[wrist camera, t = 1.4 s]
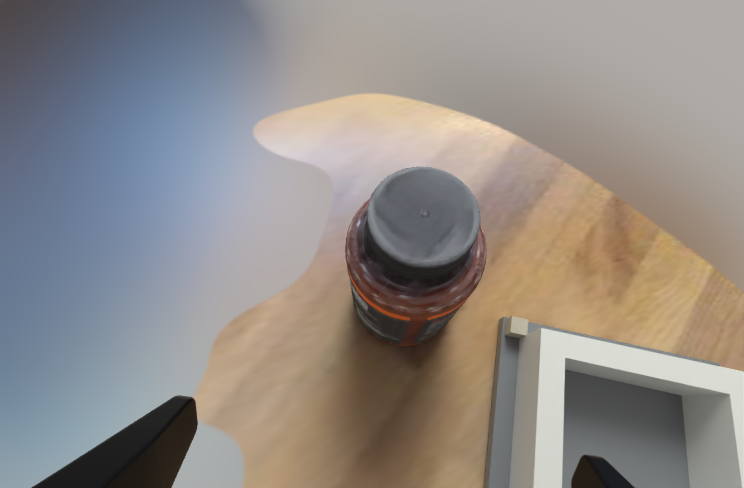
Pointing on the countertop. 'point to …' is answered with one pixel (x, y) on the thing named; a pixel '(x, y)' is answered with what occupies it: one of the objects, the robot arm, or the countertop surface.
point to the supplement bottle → (414, 254)
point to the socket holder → (610, 412)
